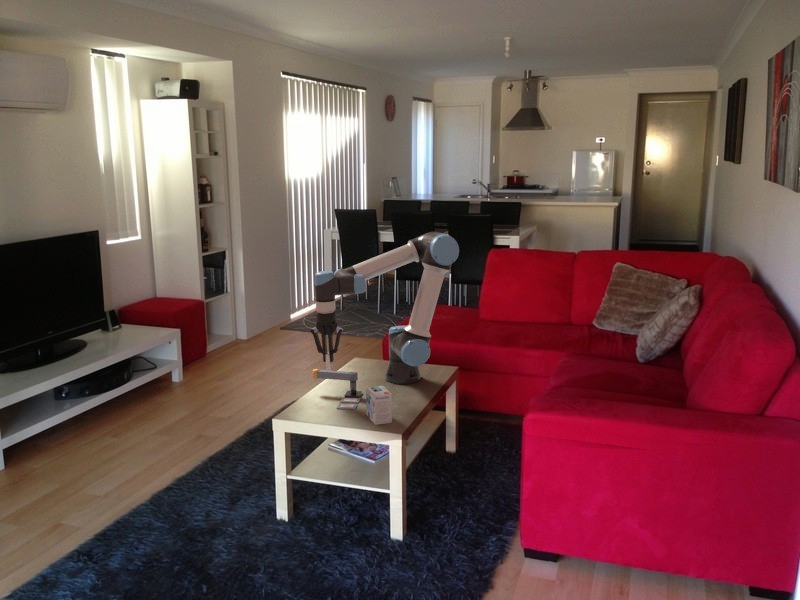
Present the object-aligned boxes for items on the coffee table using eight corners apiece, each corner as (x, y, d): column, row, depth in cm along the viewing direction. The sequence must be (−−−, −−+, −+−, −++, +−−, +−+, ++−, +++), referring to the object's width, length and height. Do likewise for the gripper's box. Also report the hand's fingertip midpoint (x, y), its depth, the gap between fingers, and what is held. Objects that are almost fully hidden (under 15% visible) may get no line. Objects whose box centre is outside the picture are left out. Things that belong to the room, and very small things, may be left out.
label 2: (357, 405, 269) (357, 403, 268) (354, 409, 264) (354, 408, 264) (339, 404, 269) (339, 403, 269) (336, 408, 265) (336, 407, 264)
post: (362, 393, 282) (361, 378, 281) (359, 398, 276) (359, 382, 275) (347, 393, 283) (347, 377, 281) (344, 398, 277) (344, 382, 275)
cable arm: (356, 382, 276) (355, 374, 275) (311, 378, 280) (311, 371, 280) (358, 379, 279) (358, 371, 279) (314, 376, 284) (314, 368, 283)
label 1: (360, 399, 275) (360, 397, 275) (358, 403, 271) (358, 402, 270) (343, 398, 276) (343, 397, 276) (340, 402, 271) (340, 401, 271)
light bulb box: (365, 415, 258) (365, 387, 256) (383, 412, 260) (382, 385, 258) (375, 425, 248) (374, 396, 246) (393, 422, 250) (392, 393, 248)
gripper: (344, 309, 275) (347, 367, 279) (311, 309, 276) (315, 366, 281) (340, 313, 267) (343, 372, 272) (307, 313, 269) (310, 372, 274)
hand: (328, 369), depth 277 cm, fingers closed
